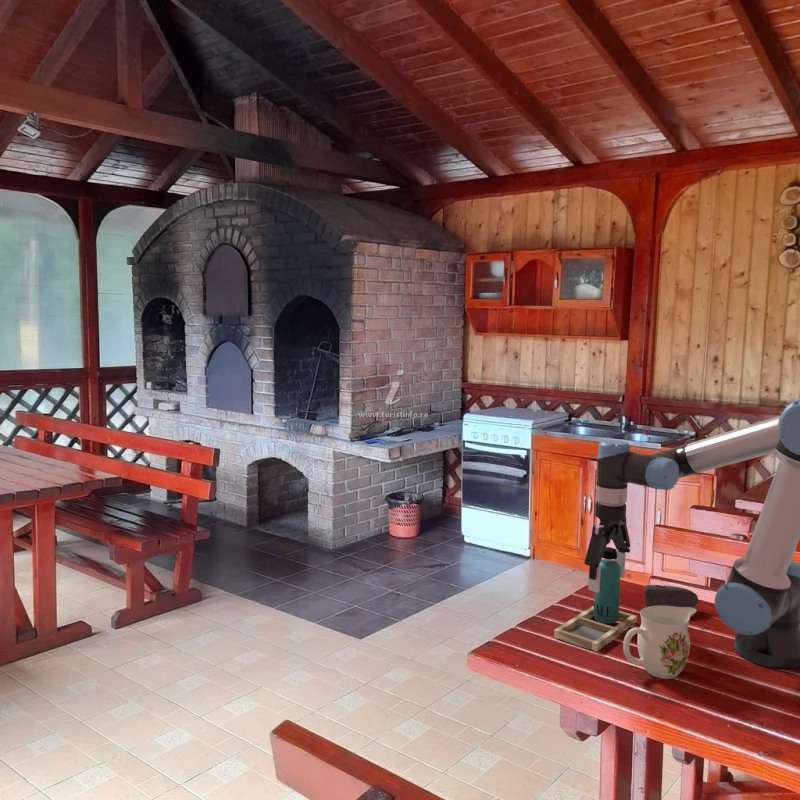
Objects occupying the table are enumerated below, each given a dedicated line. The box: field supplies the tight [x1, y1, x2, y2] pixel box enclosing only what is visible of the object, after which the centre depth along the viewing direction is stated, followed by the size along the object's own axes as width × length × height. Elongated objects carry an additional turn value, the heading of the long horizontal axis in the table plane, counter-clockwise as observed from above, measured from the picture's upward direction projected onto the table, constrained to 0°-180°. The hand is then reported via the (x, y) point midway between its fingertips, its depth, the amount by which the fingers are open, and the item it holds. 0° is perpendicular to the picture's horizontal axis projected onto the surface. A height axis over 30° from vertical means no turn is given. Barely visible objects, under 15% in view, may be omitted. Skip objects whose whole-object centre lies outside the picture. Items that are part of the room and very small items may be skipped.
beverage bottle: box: [593, 546, 621, 624], centre depth 190 cm, size 6×7×20 cm
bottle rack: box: [553, 605, 638, 651], centre depth 188 cm, size 22×11×2 cm, turn 138°
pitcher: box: [622, 606, 698, 680], centre depth 166 cm, size 11×18×14 cm, turn 106°
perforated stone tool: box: [643, 584, 699, 608], centre depth 200 cm, size 15×5×7 cm, turn 89°
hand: (606, 583), depth 190 cm, fingers open, 13 cm apart
